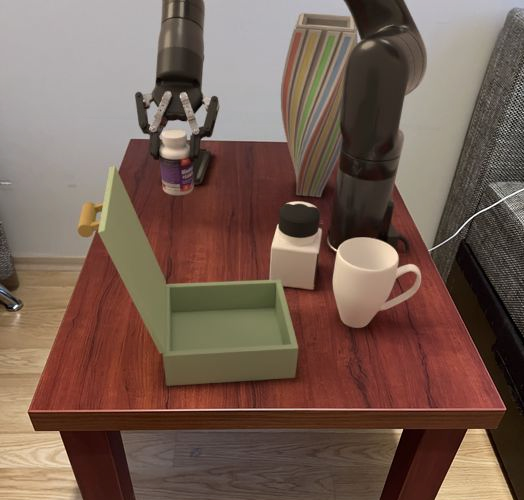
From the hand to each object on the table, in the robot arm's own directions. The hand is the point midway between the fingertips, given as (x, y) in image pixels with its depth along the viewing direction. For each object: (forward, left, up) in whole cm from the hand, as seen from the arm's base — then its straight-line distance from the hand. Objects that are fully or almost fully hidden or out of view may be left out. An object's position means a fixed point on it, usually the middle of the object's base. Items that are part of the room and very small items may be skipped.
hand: (174, 158), depth 89 cm
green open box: (-6, +32, -13) cm, 35 cm away
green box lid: (+4, +32, +2) cm, 32 cm away
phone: (-2, -24, -13) cm, 27 cm away
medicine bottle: (-18, +16, -13) cm, 28 cm away
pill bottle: (0, -2, -6) cm, 7 cm away
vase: (-26, -13, -13) cm, 32 cm away
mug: (-27, +28, -13) cm, 41 cm away
